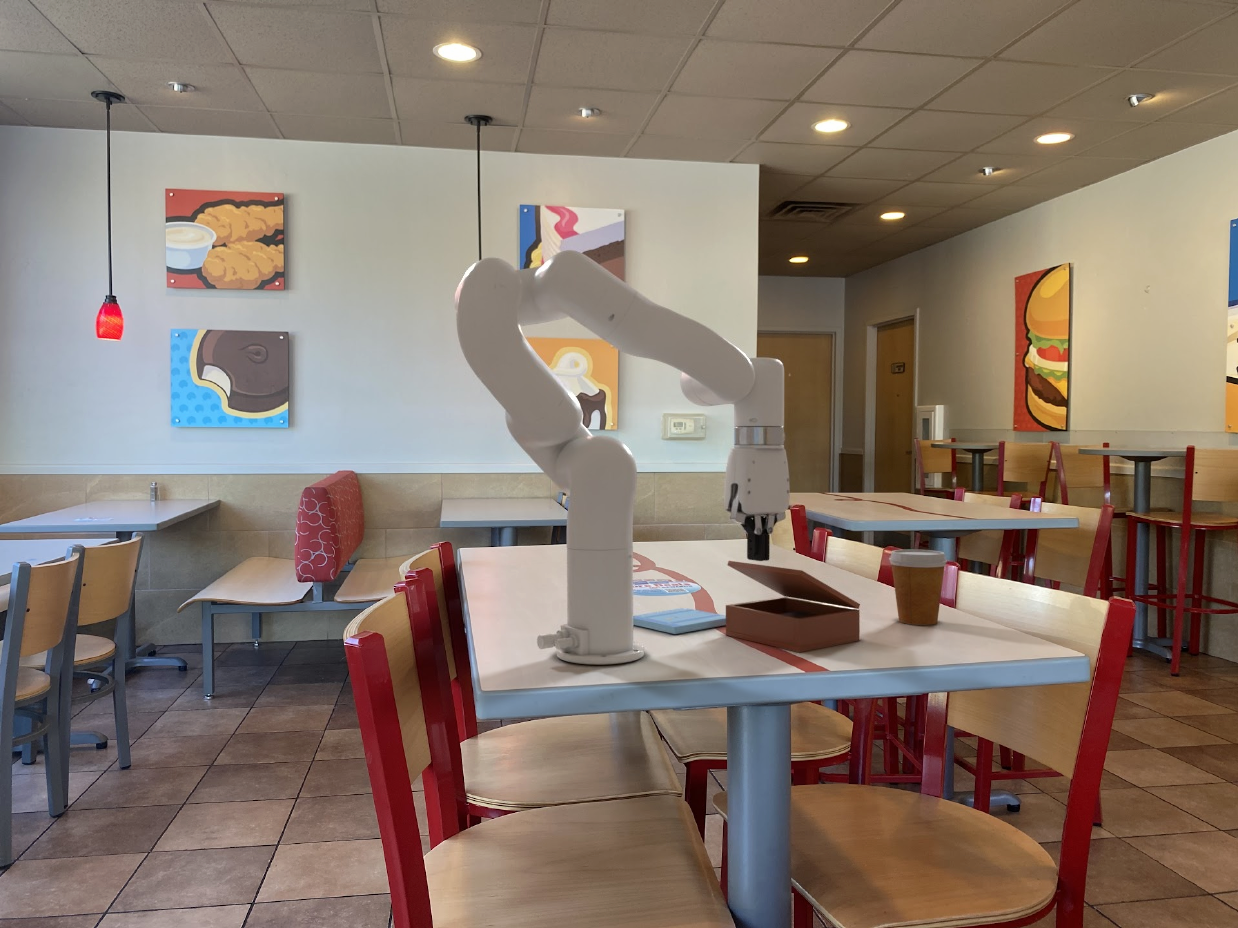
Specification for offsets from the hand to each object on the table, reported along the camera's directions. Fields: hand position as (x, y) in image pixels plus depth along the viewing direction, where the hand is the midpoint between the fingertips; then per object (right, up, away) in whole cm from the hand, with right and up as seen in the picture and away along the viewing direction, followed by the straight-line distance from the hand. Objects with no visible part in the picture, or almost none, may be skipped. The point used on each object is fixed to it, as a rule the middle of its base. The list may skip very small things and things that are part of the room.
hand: (758, 559), depth 131 cm
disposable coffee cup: (+30, -13, +17) cm, 37 cm away
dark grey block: (+6, -12, +4) cm, 14 cm away
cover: (+6, -5, +4) cm, 9 cm away
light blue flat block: (-11, -13, +15) cm, 23 cm away
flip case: (+6, -13, +4) cm, 15 cm away
